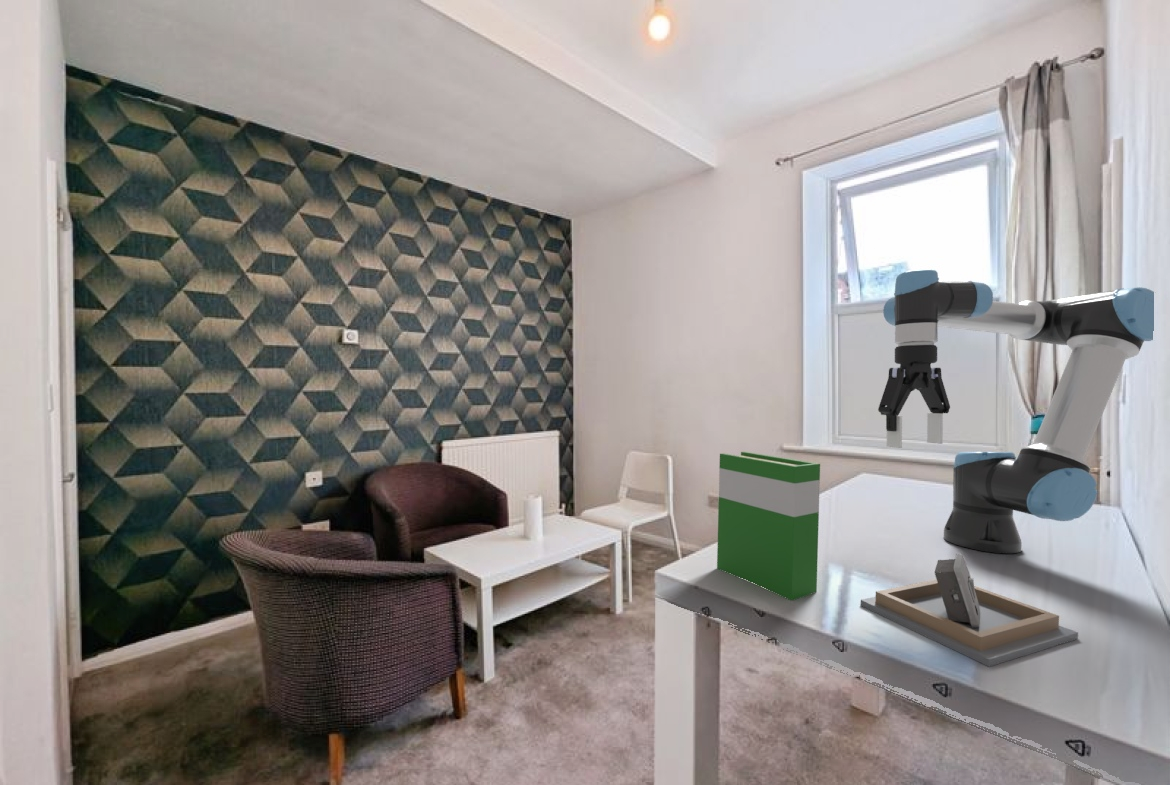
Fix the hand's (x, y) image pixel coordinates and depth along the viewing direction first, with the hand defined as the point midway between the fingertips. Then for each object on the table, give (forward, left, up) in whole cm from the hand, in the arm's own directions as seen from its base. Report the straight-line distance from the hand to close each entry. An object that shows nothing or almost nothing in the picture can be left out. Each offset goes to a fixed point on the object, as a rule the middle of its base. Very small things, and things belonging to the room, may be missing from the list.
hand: (915, 445), depth 105 cm
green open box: (+35, -5, -27) cm, 44 cm away
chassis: (+16, +20, -26) cm, 36 cm away
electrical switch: (+16, +19, -25) cm, 36 cm away
